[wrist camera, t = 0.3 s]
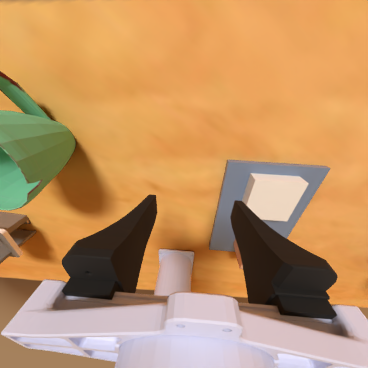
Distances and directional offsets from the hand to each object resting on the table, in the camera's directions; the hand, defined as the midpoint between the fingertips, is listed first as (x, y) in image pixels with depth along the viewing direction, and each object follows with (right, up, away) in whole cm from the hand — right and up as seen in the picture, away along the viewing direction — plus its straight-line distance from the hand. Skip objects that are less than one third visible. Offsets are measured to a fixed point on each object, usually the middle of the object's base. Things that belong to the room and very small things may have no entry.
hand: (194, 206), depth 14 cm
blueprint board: (+12, -3, +13) cm, 18 cm away
